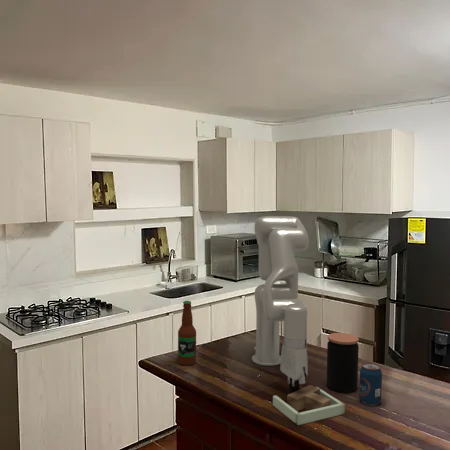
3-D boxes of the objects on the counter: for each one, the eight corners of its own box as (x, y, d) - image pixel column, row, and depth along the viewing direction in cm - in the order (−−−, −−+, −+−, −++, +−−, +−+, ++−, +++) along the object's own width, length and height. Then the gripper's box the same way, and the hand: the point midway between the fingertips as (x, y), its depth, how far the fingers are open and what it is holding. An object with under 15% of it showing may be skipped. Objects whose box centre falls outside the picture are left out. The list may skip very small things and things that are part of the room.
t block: (286, 407, 145) (287, 395, 145) (310, 396, 153) (310, 384, 153) (315, 420, 137) (315, 407, 137) (337, 408, 145) (338, 395, 145)
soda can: (354, 399, 152) (355, 363, 151) (370, 395, 154) (371, 361, 154) (369, 408, 145) (370, 371, 144) (385, 404, 148) (387, 368, 147)
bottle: (174, 363, 182) (174, 302, 180) (185, 358, 188) (185, 298, 186) (188, 367, 178) (188, 304, 176) (199, 361, 184) (200, 301, 182)
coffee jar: (351, 380, 167) (353, 332, 165) (361, 393, 156) (363, 342, 155) (323, 380, 166) (324, 332, 165) (330, 393, 156) (332, 342, 154)
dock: (272, 405, 147) (272, 395, 146) (316, 395, 154) (317, 386, 154) (297, 425, 134) (298, 415, 134) (344, 413, 141) (344, 404, 141)
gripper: (273, 336, 155) (272, 389, 156) (298, 350, 141) (297, 407, 143) (292, 334, 158) (291, 385, 159) (318, 347, 145) (316, 403, 146)
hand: (294, 395), depth 151 cm, fingers closed
